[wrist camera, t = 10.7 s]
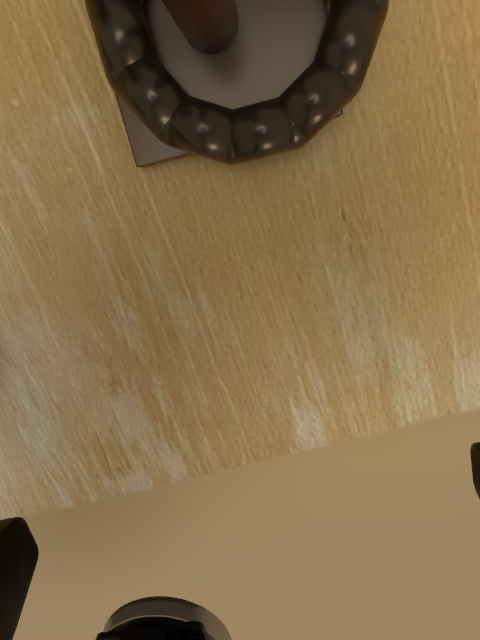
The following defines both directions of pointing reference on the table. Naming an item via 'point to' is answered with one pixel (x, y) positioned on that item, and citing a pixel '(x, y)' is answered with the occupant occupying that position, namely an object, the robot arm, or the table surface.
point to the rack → (226, 55)
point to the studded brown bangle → (248, 121)
